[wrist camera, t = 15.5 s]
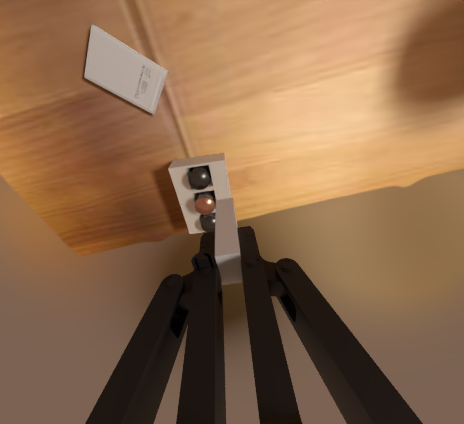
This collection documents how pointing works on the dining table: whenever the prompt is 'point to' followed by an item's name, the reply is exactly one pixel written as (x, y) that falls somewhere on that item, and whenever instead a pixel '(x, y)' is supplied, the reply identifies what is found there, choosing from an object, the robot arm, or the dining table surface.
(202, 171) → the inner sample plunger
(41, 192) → the dining table surface
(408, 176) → the dining table surface
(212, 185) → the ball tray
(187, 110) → the dining table surface
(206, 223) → the plunger
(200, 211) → the plunger
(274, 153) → the dining table surface
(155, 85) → the external hard drive
